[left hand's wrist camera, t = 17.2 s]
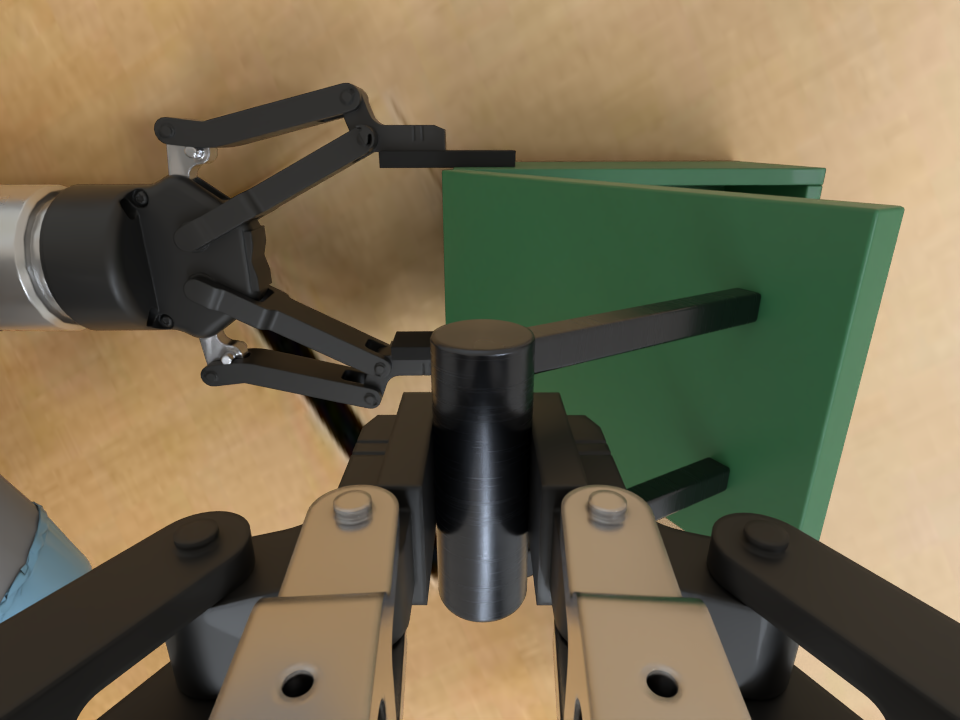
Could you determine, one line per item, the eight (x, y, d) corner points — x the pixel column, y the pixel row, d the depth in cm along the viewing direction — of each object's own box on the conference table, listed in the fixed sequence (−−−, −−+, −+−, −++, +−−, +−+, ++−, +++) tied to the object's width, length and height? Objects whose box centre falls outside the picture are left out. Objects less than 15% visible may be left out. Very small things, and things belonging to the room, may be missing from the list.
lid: (907, 206, 11) (515, 248, 7) (809, 585, 14) (505, 773, 10) (462, 169, 25) (248, 175, 21) (464, 361, 29) (280, 400, 24)
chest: (734, 160, 35) (827, 168, 26) (712, 306, 38) (788, 357, 29) (456, 161, 35) (451, 168, 26) (459, 307, 38) (455, 360, 29)
